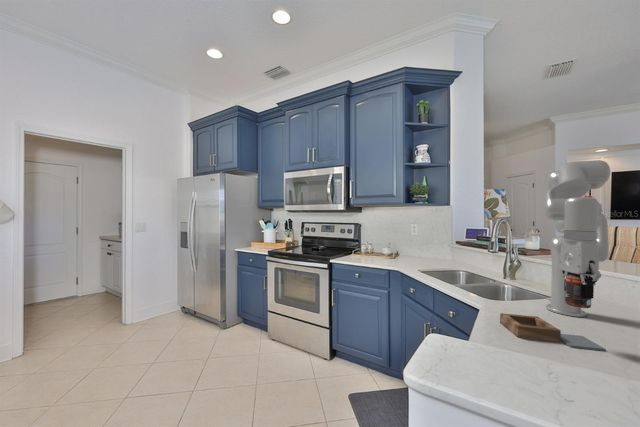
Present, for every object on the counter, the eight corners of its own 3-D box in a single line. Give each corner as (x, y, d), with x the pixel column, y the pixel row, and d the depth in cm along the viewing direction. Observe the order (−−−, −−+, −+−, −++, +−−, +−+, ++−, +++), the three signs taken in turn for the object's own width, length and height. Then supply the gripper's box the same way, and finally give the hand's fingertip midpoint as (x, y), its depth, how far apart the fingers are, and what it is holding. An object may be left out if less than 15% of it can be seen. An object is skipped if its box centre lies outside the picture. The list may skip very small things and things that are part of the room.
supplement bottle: (596, 310, 81) (597, 272, 81) (573, 307, 83) (574, 270, 83) (581, 303, 87) (582, 268, 87) (560, 301, 88) (561, 266, 89)
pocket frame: (499, 322, 99) (500, 313, 99) (537, 326, 97) (537, 316, 97) (517, 337, 87) (517, 326, 87) (560, 341, 85) (560, 330, 85)
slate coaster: (550, 334, 90) (550, 332, 90) (582, 337, 88) (582, 335, 88) (570, 347, 81) (570, 345, 81) (605, 351, 80) (605, 349, 80)
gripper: (548, 234, 94) (546, 286, 94) (587, 238, 77) (585, 301, 77) (573, 235, 93) (572, 288, 93) (618, 239, 76) (616, 304, 76)
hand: (578, 294), depth 85 cm, fingers closed on supplement bottle, 5 cm apart
